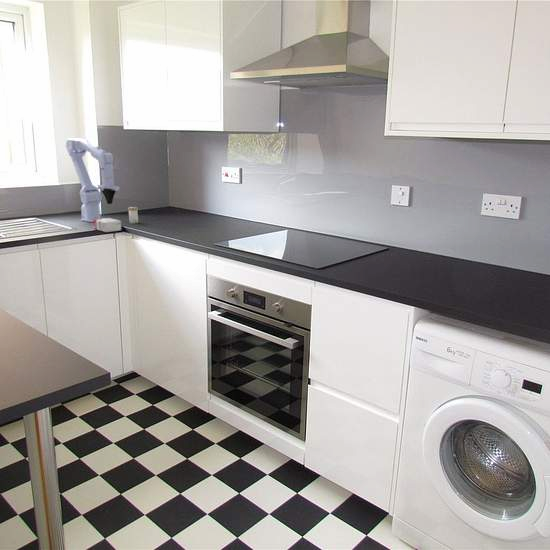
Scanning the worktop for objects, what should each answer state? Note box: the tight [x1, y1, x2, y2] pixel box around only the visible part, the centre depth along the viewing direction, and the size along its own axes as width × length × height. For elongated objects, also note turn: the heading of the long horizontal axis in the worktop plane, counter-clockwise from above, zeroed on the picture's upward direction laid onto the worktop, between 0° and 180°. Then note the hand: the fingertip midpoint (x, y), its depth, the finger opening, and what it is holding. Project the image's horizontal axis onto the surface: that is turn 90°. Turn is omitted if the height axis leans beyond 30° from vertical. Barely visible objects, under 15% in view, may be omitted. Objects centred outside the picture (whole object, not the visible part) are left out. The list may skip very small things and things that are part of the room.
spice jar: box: [127, 206, 139, 224], centre depth 279 cm, size 5×5×8 cm
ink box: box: [93, 217, 122, 233], centre depth 258 cm, size 8×5×12 cm
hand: (109, 203), depth 273 cm, fingers closed
